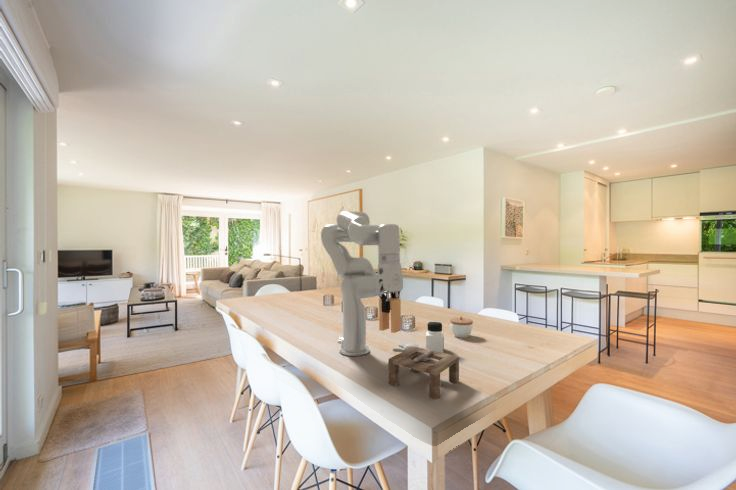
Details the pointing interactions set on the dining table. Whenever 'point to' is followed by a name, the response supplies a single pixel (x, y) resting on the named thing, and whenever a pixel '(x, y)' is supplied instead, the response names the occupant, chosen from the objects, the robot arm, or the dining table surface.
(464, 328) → the lidded jar
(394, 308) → the orange boxy part
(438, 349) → the medicine bottle
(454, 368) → the brown square frame
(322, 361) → the dining table surface
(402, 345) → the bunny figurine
